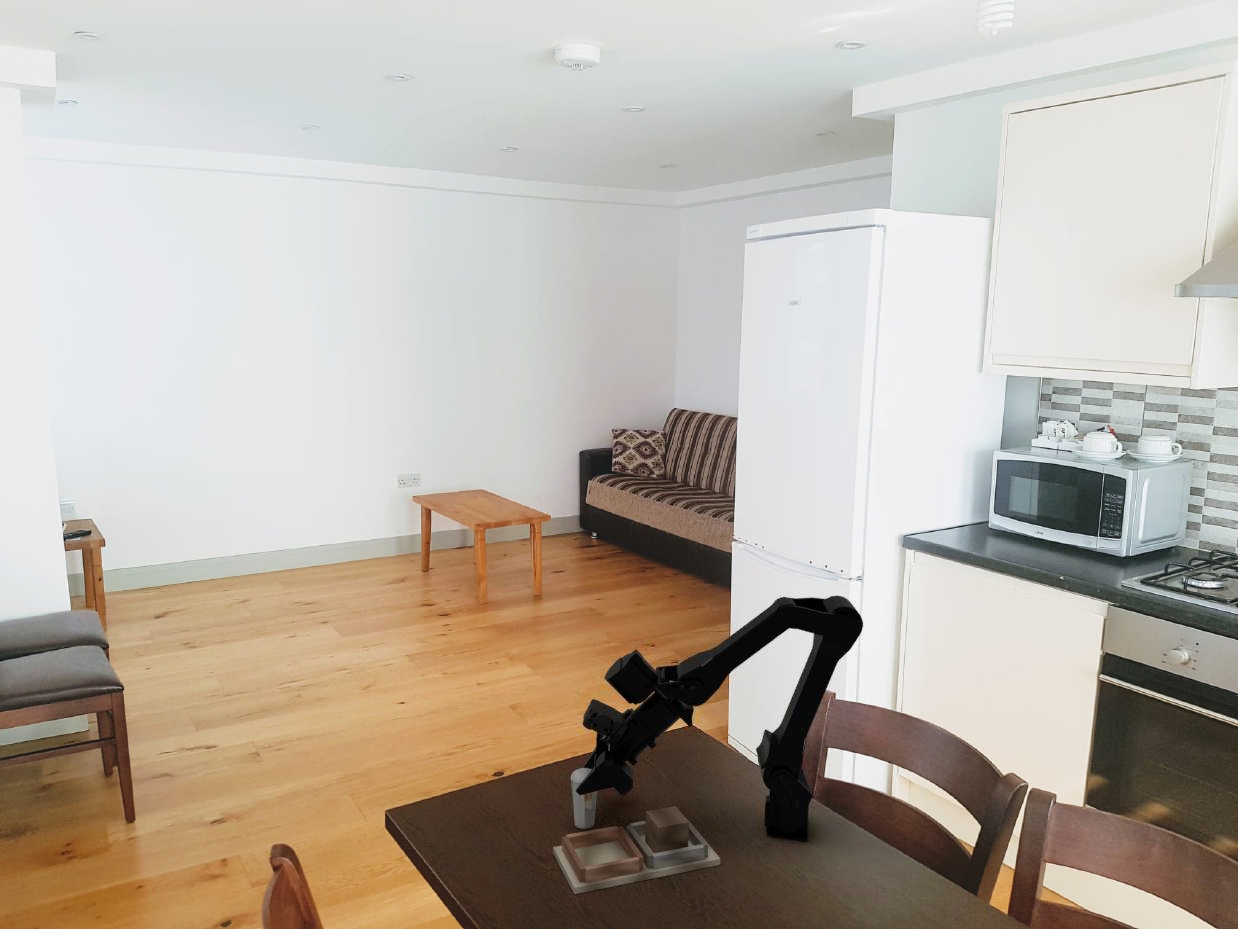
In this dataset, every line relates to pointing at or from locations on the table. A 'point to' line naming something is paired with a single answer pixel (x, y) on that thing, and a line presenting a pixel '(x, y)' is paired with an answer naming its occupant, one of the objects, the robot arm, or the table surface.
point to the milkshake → (583, 801)
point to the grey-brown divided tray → (633, 852)
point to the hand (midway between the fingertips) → (578, 785)
